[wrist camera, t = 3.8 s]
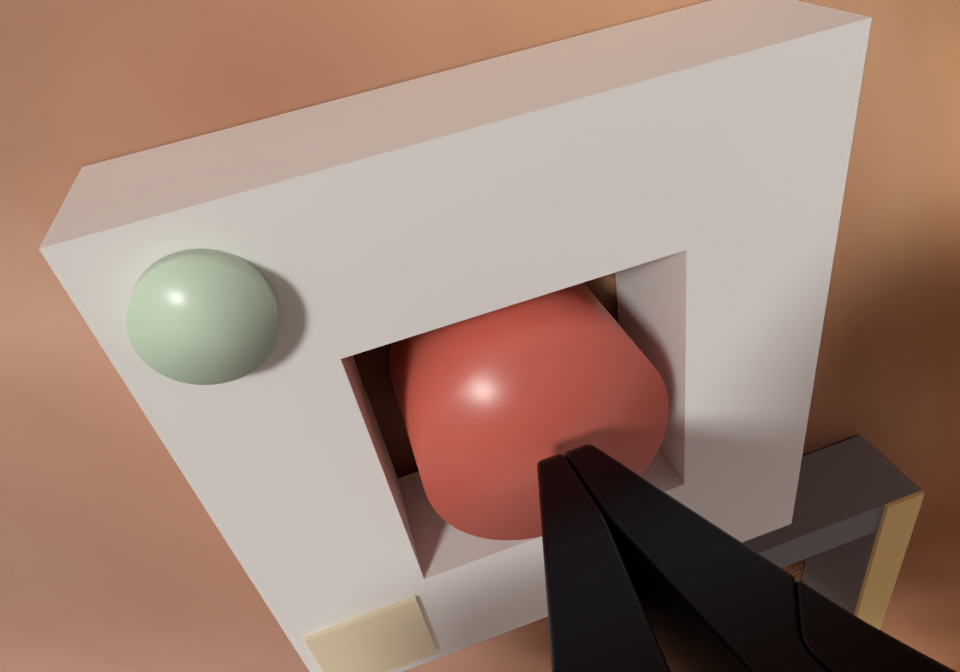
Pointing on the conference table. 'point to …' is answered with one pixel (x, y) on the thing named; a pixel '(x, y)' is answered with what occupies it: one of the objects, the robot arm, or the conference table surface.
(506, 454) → the button
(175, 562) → the conference table surface
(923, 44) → the conference table surface
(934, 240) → the conference table surface
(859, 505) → the bracket
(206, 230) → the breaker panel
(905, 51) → the conference table surface
